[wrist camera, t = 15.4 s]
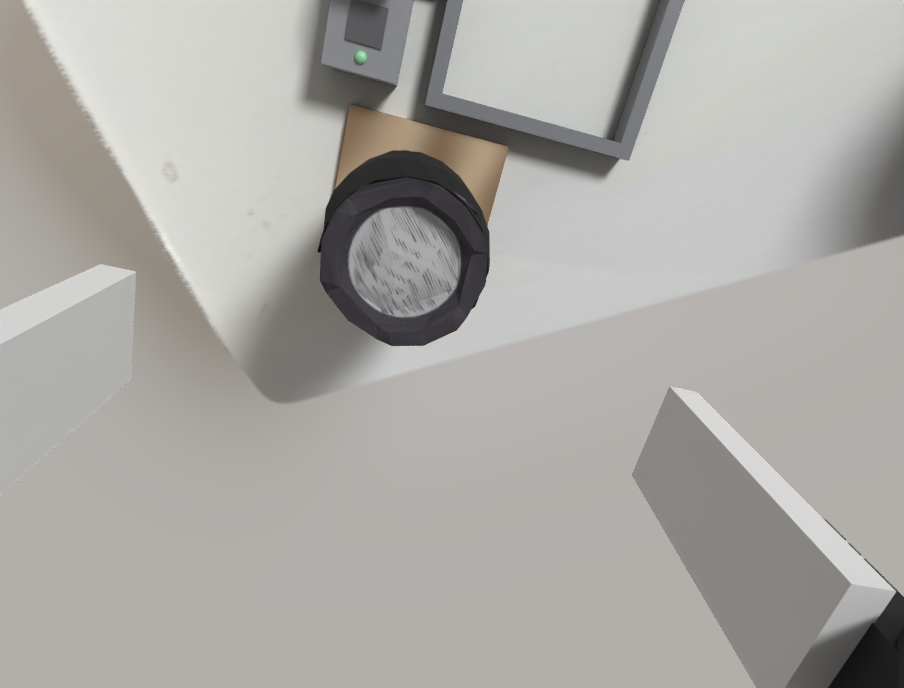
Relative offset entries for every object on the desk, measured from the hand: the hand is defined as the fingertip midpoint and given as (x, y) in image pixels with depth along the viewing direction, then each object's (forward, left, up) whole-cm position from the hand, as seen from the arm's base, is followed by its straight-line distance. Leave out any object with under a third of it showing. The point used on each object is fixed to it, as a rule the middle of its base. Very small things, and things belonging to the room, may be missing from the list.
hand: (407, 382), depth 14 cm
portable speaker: (0, 0, -32) cm, 32 cm away
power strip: (+6, -14, -33) cm, 36 cm away
